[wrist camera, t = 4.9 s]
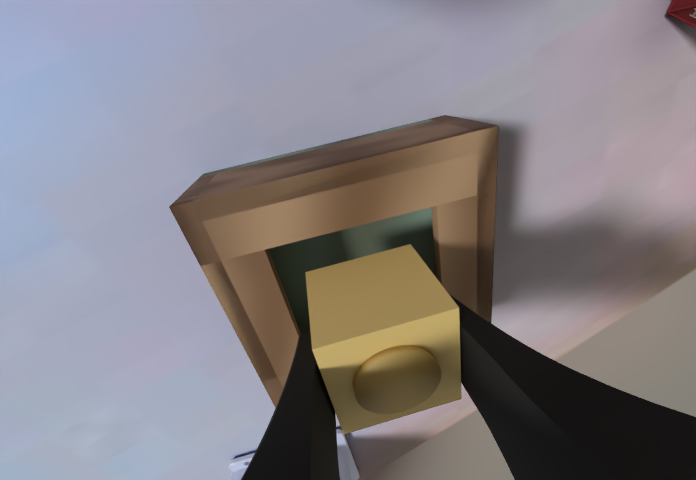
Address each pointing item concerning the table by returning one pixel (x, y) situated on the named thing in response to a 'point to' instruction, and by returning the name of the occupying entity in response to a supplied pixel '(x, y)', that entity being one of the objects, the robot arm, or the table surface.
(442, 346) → the yellow dimpled cube
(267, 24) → the table surface
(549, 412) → the robot arm
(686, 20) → the dice
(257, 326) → the piece box
